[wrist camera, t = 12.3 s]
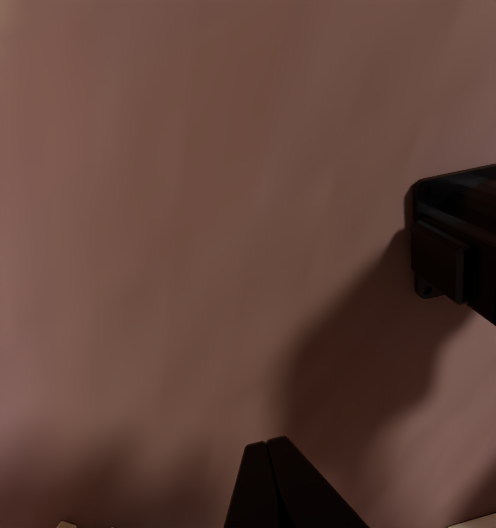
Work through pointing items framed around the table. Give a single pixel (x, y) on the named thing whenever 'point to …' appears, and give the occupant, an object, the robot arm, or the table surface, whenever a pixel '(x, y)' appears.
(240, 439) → the table surface
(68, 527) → the birch bay
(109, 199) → the table surface
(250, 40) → the table surface
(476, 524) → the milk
